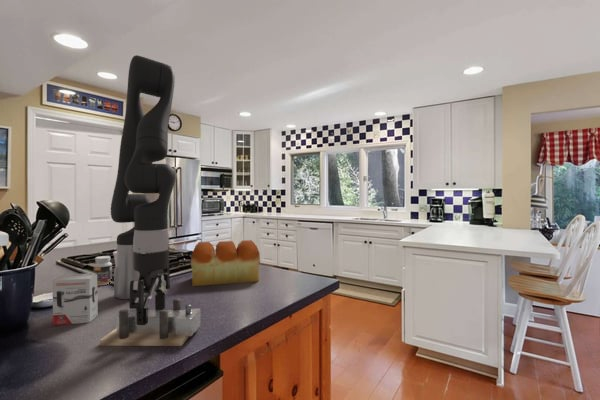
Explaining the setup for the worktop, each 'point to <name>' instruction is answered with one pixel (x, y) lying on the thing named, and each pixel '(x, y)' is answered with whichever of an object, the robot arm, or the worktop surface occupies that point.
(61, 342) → the worktop surface
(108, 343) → the rack
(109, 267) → the pill bottle
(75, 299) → the ink box
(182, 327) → the grey pegged bar
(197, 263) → the bread
